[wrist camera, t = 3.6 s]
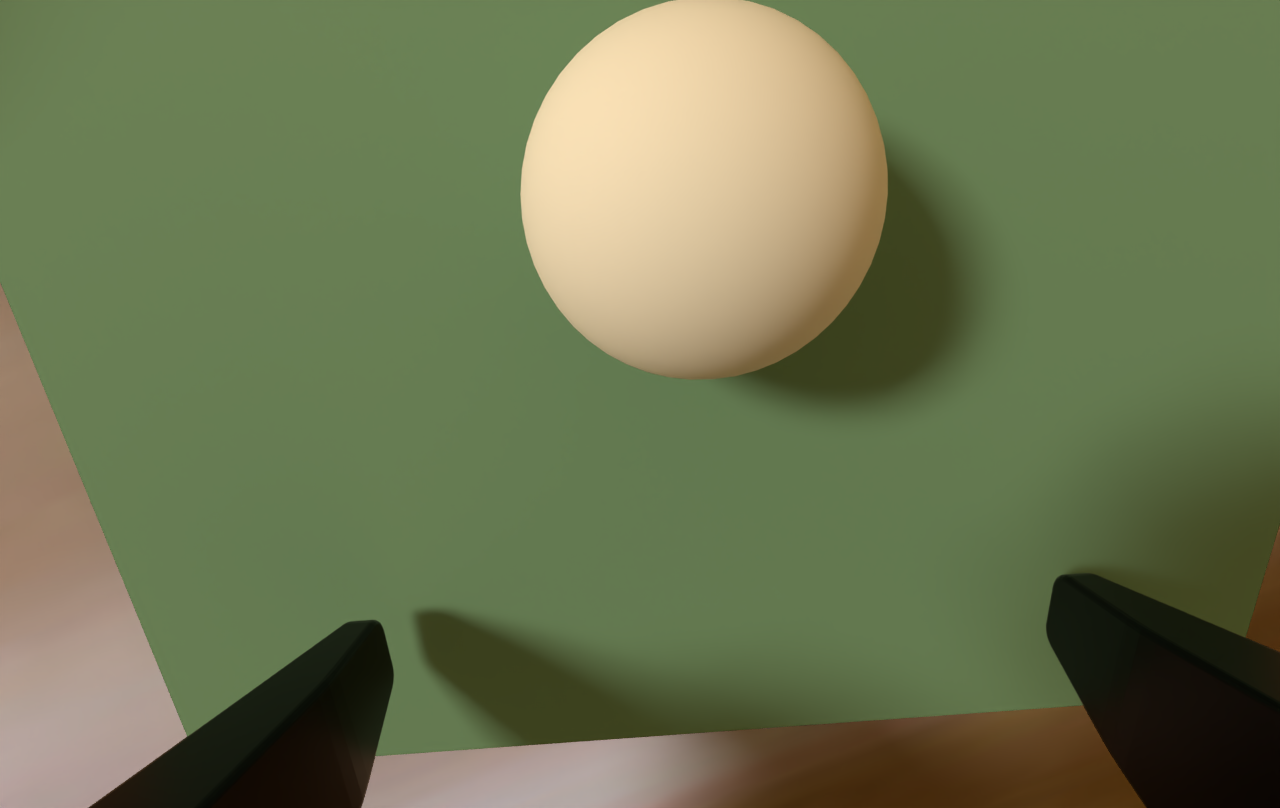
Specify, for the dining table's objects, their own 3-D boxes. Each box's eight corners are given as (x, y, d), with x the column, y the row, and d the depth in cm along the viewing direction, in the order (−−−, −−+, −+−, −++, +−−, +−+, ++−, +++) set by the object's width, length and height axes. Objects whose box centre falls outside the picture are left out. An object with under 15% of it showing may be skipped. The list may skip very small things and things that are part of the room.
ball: (822, 320, 8) (940, 419, 5) (560, 341, 8) (521, 450, 5) (830, 22, 7) (984, -81, 4) (525, 47, 7) (449, -37, 4)
